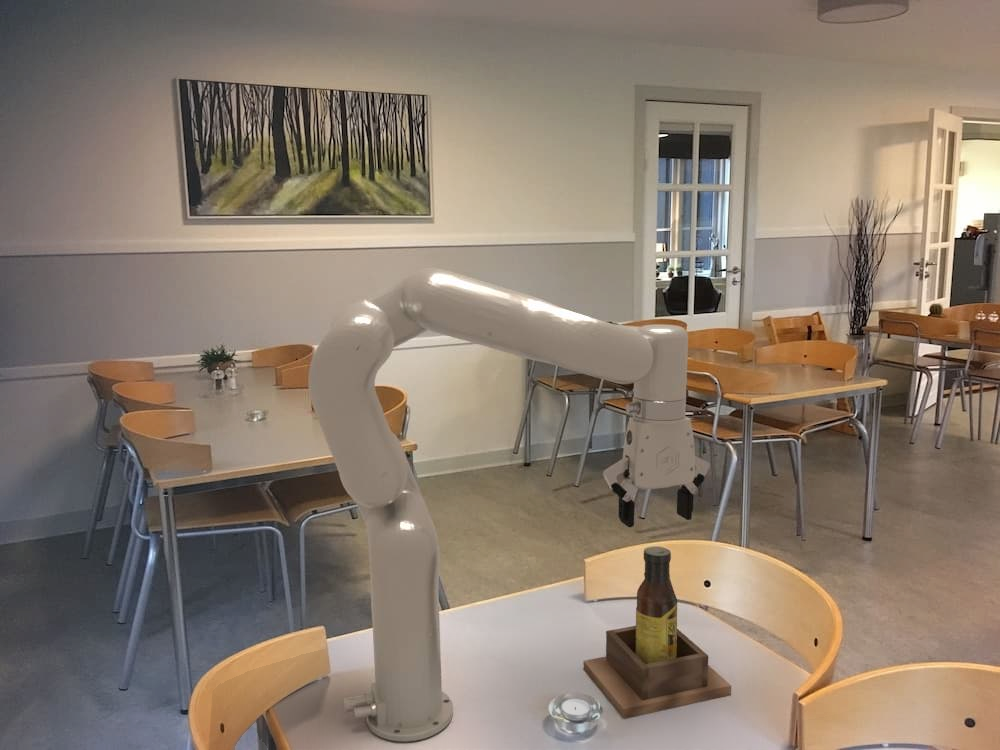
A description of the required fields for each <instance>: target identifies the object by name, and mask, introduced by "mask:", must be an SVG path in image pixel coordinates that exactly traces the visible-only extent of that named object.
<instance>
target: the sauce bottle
mask: <svg viewBox="0 0 1000 750" xmlns="http://www.w3.org/2000/svg"><path fill="white" fill-rule="evenodd" d="M671 554H672V553H671V550H670V549H668V548H666V547H662V546H648V547H646V548H644V549H643V561H644V574H643V575H644V579H643V581H642V582H641V583H640V585H639V587H638V588H637V592H636V608H635V626H636V655H637V656H638V657H639V658H640V659H641V660H642V661H643V662H644V663H645V664H650V663H655V662H660V661H665V660H670V659H675V658H676V654H677V629H678V598H677V595H676V593H675V590H674V588H673V584H672V581H671V574H670V567H671V566H670V563H671V560H672V555H671Z"/></svg>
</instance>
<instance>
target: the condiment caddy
mask: <svg viewBox="0 0 1000 750" xmlns="http://www.w3.org/2000/svg"><path fill="white" fill-rule="evenodd" d="M605 635H606V637H605V639H606V640H605V641H606V642H605V644H606V646H605V652H606V654H605V656H601V657H596V658H590V659H585V660H583V671H584V672H585V673H586V674H587V675H588V677H589V678H590V679H591V681H592V682H593V683H594V684H595V685H596V687H597V688H598V689H599V691H600V692H601V693H602V694H603V696H605V698H606V699H607V700H608V701H609V703H610V704H611V705H612V707H613V708H614V709H615V710H616V711H617V712H618V714H619V715H620V716H621V717H622V718H623V719H624V718H625V719H628V718H633V717H638V716H641V715H645V714H646V715H647V714H650V713H654V712H660V711H664V710H669V709H674V708H678V707H683V706H687V705H690V704H695V703H699V702H704V701H708V700H713V699H714V700H715V699H718V698H722V697H727V696H730V695H732V684H731V683H729V682H728V681H727V680H726V679H724V677H722V676H721V675H720V674H719V673H718V672H717V671H716V670H715V669H713V667H712V666H710V665H709V655H708V654H707V653H706V652H705V651H703V650H702V649H701V648H700V647H699V646H698V645H696V643H695V642H693V641H692V640H691V639H690V638H689V637H688V636H686V635H685V634H684V633H683V632H682V631H681V630H679V629H678V628H677V654H676V658H675V659H670V660H665V661H660V662H655V663H650V664H645V663H644V662H643V661H642V660H641V659H640V658H639V657H638V656H637V655H636V625H632V626H627V627H621V628H615V629H610V630H606V633H605Z"/></svg>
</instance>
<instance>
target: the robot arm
mask: <svg viewBox="0 0 1000 750" xmlns="http://www.w3.org/2000/svg"><path fill="white" fill-rule="evenodd" d="M427 331H430V332H432V333H437V334H440V335H443V336H447V337H449V338H450V337H451V338H454V339H458V340H461V341H466V342H469V343H473V344H477V345H480V346H483V347H487V348H490V349H494V350H497V351H500V352H504V353H507V354H511V355H514V356H517V357H520V358H523V359H527V360H532V361H537V362H542V363H544V364H545V363H546V364H548V365H549V364H550V365H553V366H556V367H560V368H563V369H566V370H570V371H574V372H576V373H580V374H582V375H583V374H584V375H586V376H589V377H590V376H591V377H594V378H598V379H600V380H601V379H602V380H605V381H608V382H612V383H615V384H620V385H630V384H633V397H632V401H631V402H630V403H626V404H625V412H626V413H631V414H632V416H631V417H629V420H628V423H627V427H626V430H625V437H624V444H623V452H622V458H621V459H620V460H618V461H617V462H615V463H614V464H612V465H610V466H609V467H607V468H606V469H604V470H603V472H602V475H603V477H604V480H605V482H606V483H607V487H608V488H609V489H610V490H611V492H613V493H614V494H615V495H616V497H618V518H619V520H620V523H622V524H623V525H625V526H626V527H628V528H633V527H634V525H635V501H634V500H632V499H633V497H634V495H635V494H637V492H638V490H639V489H640V490H655V489H663V488H664V489H665V488H673V487H680V488H678V489H677V494H676V495H677V497H676V515H678V516H680V517H682V518H683V519H684V520H686V521H691V520H692V518H693V517H692V514H693V513H692V512H693V511H694V497H695V496H694V495H696V494H697V493H698V489H699V487H700V486H701V485H702V483H703V482H704V481H705V476H706V475H707V473H708V471H709V469H710V466H711V464H710V462H708V461H707V460H704V459H703V458H701V457H698V456H697V455H696V452H695V449H696V448H695V438H694V432H693V425H692V420H691V418H690V417H688V416H686V409H687V407H686V406H687V405H686V403H687V382H688V381H687V377H688V353H689V352H688V350H689V333H688V331H687V330H686V329H685V328H684V327H682V326H680V325H677V324H676V325H674V324H662V323H661V324H657V323H656V324H645V325H642V326H635V325H634V326H633V325H623V324H616V323H615V324H614V323H610V322H608V321H605V320H600V319H597V318H594V317H591V316H587V315H585V314H581V313H578V312H575V311H572V310H569V309H566V308H563V307H561V306H558V305H556V304H553V303H551V302H549V301H546V300H544V299H541V298H538V297H536V296H533V295H530V294H528V293H524V292H520V291H517V290H514V289H511V288H510V289H509V288H506V287H504V286H500V285H496V284H495V283H494V284H493V283H491V282H487V281H483V280H479V279H477V278H474V277H470V276H468V275H465V274H461V273H457V272H454V271H451V270H447V269H443V268H436V267H425V268H422V269H419V270H417V271H415V272H413V273H411V274H409V275H407V276H406V277H403V278H402V279H400V280H398V281H395V282H394V283H391V284H390V285H388V286H385V287H383V288H381V289H379V290H377V291H376V292H374V293H371V294H369V295H367V296H365V297H363V298H361V299H359V300H357V301H355V302H352V303H350V304H348V305H347V306H345V307H344V308H342V309H341V310H340V311H339V312H338V313H337V314H336V315H335V317H334V318H333V321H332V322H331V325H330V329H329V330H328V331H327V332H326V334H325V336H324V337H323V338H322V340H321V341H320V343H319V344H318V346H317V348H316V350H315V351H314V354H313V356H312V357H311V358H312V359H311V362H310V366H309V370H308V382H307V383H308V393H309V398H310V400H311V405H312V407H313V410H314V413H315V416H316V417H317V420H318V423H319V425H320V429H321V430H322V433H323V436H324V439H325V442H326V444H327V446H328V449H329V452H330V453H331V456H332V458H333V460H334V463H335V466H336V468H337V471H338V475H339V479H340V481H341V484H342V486H343V488H344V490H345V491H346V493H347V494H348V496H350V498H352V499H353V500H354V501H355V504H356V506H357V509H358V510H359V513H360V515H361V518H362V519H363V522H364V525H365V528H366V537H367V544H368V560H369V561H368V562H369V563H368V564H369V576H370V580H369V581H370V601H371V603H370V604H371V606H370V607H371V620H372V636H373V637H372V639H373V640H372V641H373V659H374V678H375V679H374V681H375V682H373V683H371V684H370V689H371V690H369V691H365V692H364V695H363V694H362V695H357V696H356V695H355V696H350V697H349V696H348V697H344V698H343V699H342V707H343V712H344V713H345V714H346V713H350V712H353V714H354V719H356V720H357V719H362V718H365V722H366V725H367V728H369V730H370V731H371V732H372V733H373V734H374V735H376V736H378V737H380V738H382V739H386V740H388V741H394V742H404V743H405V742H416V741H420V740H421V741H422V740H424V739H427V738H430V737H433V736H434V735H437V734H438V733H439V732H441V731H442V730H444V729H446V727H447V726H448V725H449V723H450V722H451V721H452V719H453V715H454V707H453V701H452V699H451V698H450V696H449V695H448V694H447V693H446V692H444V691H442V690H443V688H442V687H443V686H442V658H441V655H442V654H441V651H442V650H441V627H440V623H441V620H440V603H439V601H440V600H439V599H440V598H439V595H440V594H439V580H440V579H439V578H440V577H439V576H440V560H441V558H440V555H441V553H440V550H441V549H440V543H439V537H438V532H437V530H436V527H435V524H434V521H433V519H432V516H431V514H430V512H429V511H430V510H429V509H428V506H427V504H426V501H425V499H424V496H423V495H422V492H421V490H420V486H419V484H418V482H417V480H416V478H415V476H414V475H415V474H414V473H413V471H412V468H411V466H410V462H409V460H408V458H407V455H406V453H405V450H404V448H403V446H402V445H403V444H402V443H401V441H400V439H399V438H398V437H397V435H395V433H393V432H392V430H391V428H390V426H389V423H388V420H387V419H386V416H385V412H384V410H383V406H382V404H381V402H380V400H379V397H378V394H377V390H376V385H375V383H376V382H375V381H376V378H377V373H378V372H379V370H380V369H381V367H382V366H383V365H384V364H385V363H386V362H387V360H388V359H389V358H390V357H391V354H392V353H393V350H394V348H397V347H399V346H400V345H403V344H404V343H407V342H408V341H410V340H412V339H414V338H416V337H419V336H420V335H422V334H424V333H426V332H427ZM620 474H622V478H623V480H622V482H621V483H619V482H618V479H617V477H618V476H619V475H620Z"/></svg>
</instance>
